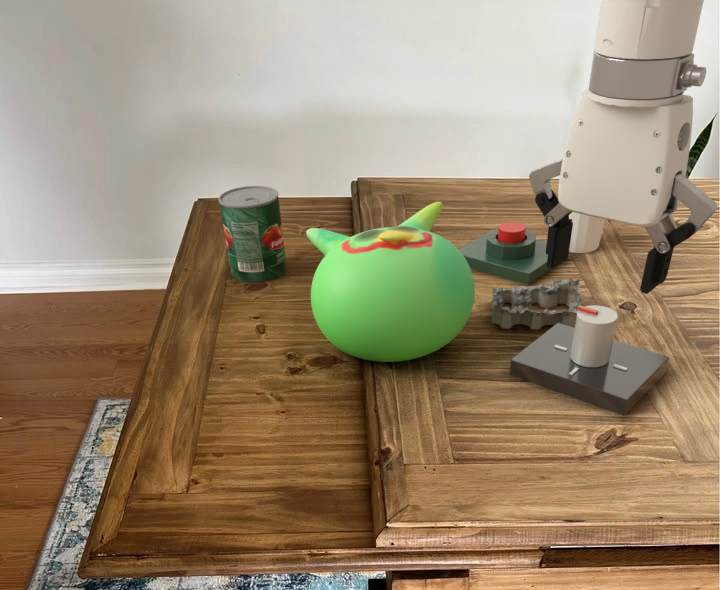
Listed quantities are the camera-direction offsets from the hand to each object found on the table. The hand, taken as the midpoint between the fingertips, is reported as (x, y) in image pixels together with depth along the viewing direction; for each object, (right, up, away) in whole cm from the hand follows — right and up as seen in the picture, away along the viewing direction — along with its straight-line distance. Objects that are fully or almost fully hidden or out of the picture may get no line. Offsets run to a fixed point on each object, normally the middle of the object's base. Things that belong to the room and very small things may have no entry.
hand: (601, 275), depth 71 cm
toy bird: (-20, -4, +15) cm, 25 cm away
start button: (-3, +13, +28) cm, 31 cm away
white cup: (+8, +13, +34) cm, 37 cm away
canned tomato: (-38, +9, +32) cm, 50 cm away
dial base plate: (+1, -9, +8) cm, 12 cm away
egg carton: (-2, -1, +18) cm, 18 cm away
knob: (+1, -7, +6) cm, 9 cm away
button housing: (-3, +10, +30) cm, 32 cm away
